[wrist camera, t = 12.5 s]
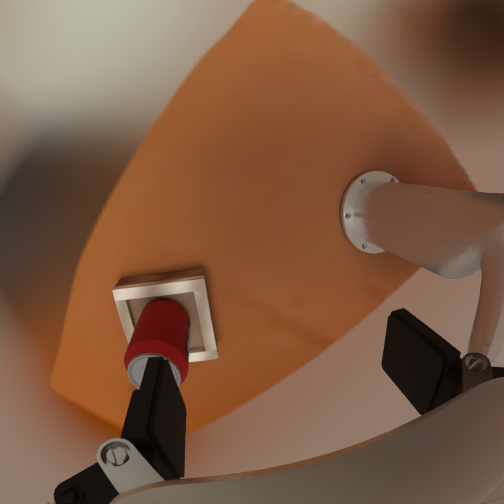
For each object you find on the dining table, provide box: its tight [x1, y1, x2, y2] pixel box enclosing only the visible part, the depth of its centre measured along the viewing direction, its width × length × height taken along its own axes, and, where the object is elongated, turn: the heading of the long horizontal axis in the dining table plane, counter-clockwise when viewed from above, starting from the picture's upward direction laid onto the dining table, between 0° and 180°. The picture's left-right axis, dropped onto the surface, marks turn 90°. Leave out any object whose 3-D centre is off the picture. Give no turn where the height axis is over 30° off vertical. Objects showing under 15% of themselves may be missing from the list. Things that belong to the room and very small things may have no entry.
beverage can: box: [124, 299, 190, 389], centre depth 30 cm, size 7×7×12 cm
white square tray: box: [112, 268, 218, 362], centre depth 36 cm, size 12×12×4 cm
